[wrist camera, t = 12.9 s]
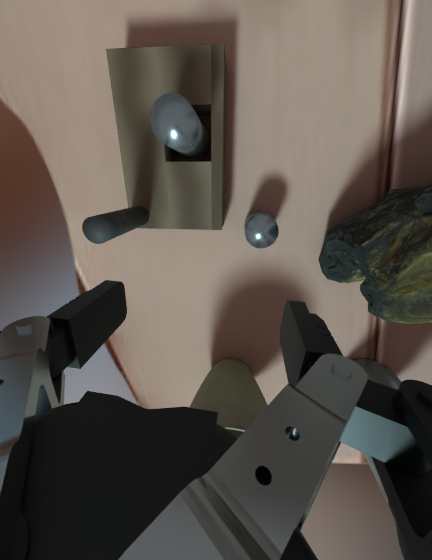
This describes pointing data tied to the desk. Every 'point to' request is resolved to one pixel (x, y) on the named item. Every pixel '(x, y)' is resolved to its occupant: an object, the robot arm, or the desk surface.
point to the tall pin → (178, 125)
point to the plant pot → (231, 395)
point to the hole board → (155, 155)
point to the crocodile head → (387, 255)
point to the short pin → (260, 229)
